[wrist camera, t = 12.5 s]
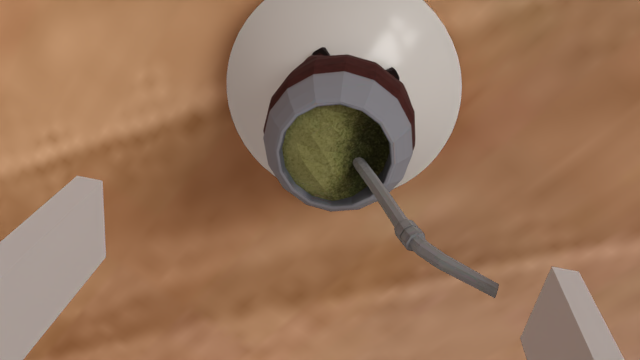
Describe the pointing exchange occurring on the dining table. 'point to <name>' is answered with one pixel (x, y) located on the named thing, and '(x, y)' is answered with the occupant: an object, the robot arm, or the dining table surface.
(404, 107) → the mate gourd
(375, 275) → the dining table surface
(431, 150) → the plate low
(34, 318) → the robot arm
